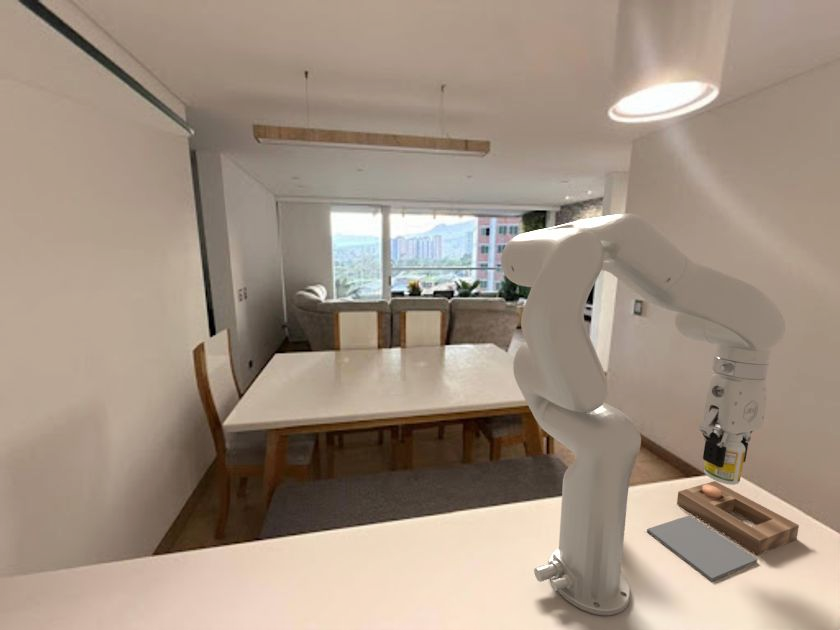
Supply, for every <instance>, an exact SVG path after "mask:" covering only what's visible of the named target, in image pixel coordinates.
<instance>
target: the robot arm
mask: <svg viewBox="0 0 840 630" xmlns="http://www.w3.org/2000/svg"><path fill="white" fill-rule="evenodd" d="M500 265H501V270H502V272H503V274H504V275H505V276H506V278H507V279H508V280H509V281H510V282H512V283H514V284H516V285H518V286H522V287H526V288H528V287H529V288H530V291H529V294H528V296H527V298H526V301H525V303H524V306H523V310H522V313H521V318H520V320H521V321H520V322H521V323H520V326H521V332H522V335H523V336H522V337H523V339H524V341H525V342H523V343H522V344H521V345H520V346H519V348H517V351H516V353H515V354H514V359H513V362H512V364H513V366H512V369H513V375H514V379H515V381H516V383H517V386H518V388H519V390H520V392H521V393H522V396H523V398H524V400H525V402H526V403H527V406H528V408H529V410H530V412H531V413H532V415H533V417H534V419H535V421H536V423H537V424H538V426H539V427H540V428H541V429H542V430H543V431H544V432H546V434H548V435H549V436H550V437H552V438H553V439H555V440H556V441H558V442H559V443H561V445H563V446H564V447H566V448H567V449H568V450H569V451H571V452H572V453H573V455H574V460H573V462H572V464H571V465H569V466H568V467H567V468H566V470H565V472H564V475H563V479H562V487H561V490H562V492H561V493H562V495H561V510H560V525H559V538H558V539H559V540H558V548H557V549H555V550H554V551H553V552H552V553H551V554H550V556H549V558H548V563H547V565H544V564H543V565H541V566H540V565H539V566H537V567H535V568H534V570H533V572H534V575H535V578H536V580H537V581H538V582H539V583H542V582H544V581H547V580H550V584H551V588H552V589H553V590H554V591H555V592H556V591H557V592H558V593H559V594H560V596H562V597H563V598H564V599H565V601H567V602H569V603H570V604H571V605H573V606H574V607H577V608H579V609H580V610H582V611H584V612H588V613H590V614H594V615H599V616H611V615H612V616H613V615H616V614H619V613H621V612H623V611H624V610H625V609H626V608H627V606H628V604H629V602H630V599H631V597H630V596H631V595H630V594H631V587H630V584H629V582H628V580H627V579H628V578H627V577H626V576H625V574H624V573H623V571H622V561H623V551H624V541H625V540H624V539H625V528H626V518H627V507H628V505H627V504H628V498H629V497H628V495H629V487H630V481H631V477H632V473H633V469H634V467H635V464H636V461H637V458H638V455H639V453H640V448H641V444H642V436H641V432H640V429H639V428H638V426H637V424H636V423H635V422H634V420H632V418H631V417H629V415H628V414H626V413H624V412H623V411H621V410H620V409H618V408H616V407H614V406H612V405H610V404H608V403H606V402H605V401H606V400H607V398H608V393H609V392H608V391H609V386H608V379H607V377H606V373H605V370H604V368H603V366H602V363H601V361H600V358H599V355H598V353H597V351H596V349H595V346H594V344H593V342H592V340H591V337H590V334H589V332H588V328H587V325H586V322H585V316H584V315H585V308H586V304H587V301H588V298H589V296H590V293H591V291H592V289H593V287H594V285H595V284H596V282H597V280H598V278H599V276H600V274H601V271H602V272H603V271H605V272H608V273H610V274H611V275H613V276H614V277H615V278H616V279H618V280H619V281H621V282H622V283H624V284H625V285H626V286H627V287H629V288H630V289H631V290H633V292H634V293H636V294H637V295H638V296H640V297H641V298H642V299H643V300H645V301H646V302H648V303H650V304H652V305H655V306H658V307H659V308H663V309H666V310H668V311H673V312H674V313H675V312H676V313H675V316H674V324H675V328H676V329H677V330H678V332H679V333H680V334H681V335H683V336H684V337H686V338H688V339H692V340H694V341H699V342H704V343H709V344H714V345H715V346H714V353H713V358H712V365H711V374H712V375H711V377H710V380H709V383H708V387H707V390H706V395H705V397H704V404H703V408H702V409H703V410H702V421H701V423H700V424H699V425H698V430H699V431H700V432H701V433H702V435H703V439H704V441H705V443H704V448H703V455H702V460H704V462H705V461H707V462H709V463H711V464H713V465H715V466H717V467H719V468H721V467H723V466H724V460H725V454H726V447H724V444H725V441H726V439H727V436H728V434H731V435H733V434H739V433H743V439H742V441H740V442H741V443H742V444H743V445H744V446H745V456H744V461H743V463H746V460H747V453H748V449H749V448H748V447H749V442H750V441H751V440H752V439H751V438H752V436H751V435H752V433H753V432H754V431H757V430H760V429H762V427H763V425H764V419H765V413H766V401H767V378H768V377H767V375H768V370H769V363H770V358H771V351H772V349H773V348H775V347H776V346H777V345H778V344H779V343H780V342H781V341H782V339H783V338H784V335H785V331H786V323H785V322H786V321H785V318H784V315H783V313H782V312H781V310H780V309H779V307H778V306H777V305H776V304H775V303H774V301H773V300H771V299H770V298H769V297H768V295H766V294H765V293H764V292H763V291H762V290H760V289H759V288H758V287H756V286H754V285H752V284H750V283H748V282H746V281H744V280H742V279H739V278H737V277H734V276H732V275H729V274H726V273H724V272H722V271H719V270H716V269H714V268H711V267H710V266H706V265H704V264H700V263H698V262H695V261H693V260H692V259H690V258H689V257H688V256H687V255H686V254H685V253H684V252H683V251H682V250H681V249H680V248H678V246H676V245H675V244H674V243H673V242H672V241H670V239H668V238H667V237H666V236H665V235H664V234H663V233H662V232H661V231H660V230H659V229H658V228H656V227H655V225H653V224H652V223H650V222H649V221H648V220H647V219H646V218H644V217H642V216H640V215H638V214H635V213H634V214H633V213H616V214H611V215H610V214H609V215H604V216H603V215H601V216H597V217H596V216H595V217H589V218H583V219H579V220H575V221H572V222H567V223H564V224H560V225H556V226H552V227H547V228H542V229H537V230H532V231H529V232H523V233H520V234H518V235H516V236H514V237H512V238H511V239H510V240H509V241H508V242H507V243H506V244H505V246H504V248H503V250H502V253H501V256H500ZM717 425H720V427H721V428H718V427H716V426H717ZM715 430H717V431H719V432H721V434H720V436H719V437H718V436H717V434H716V433H715V432H714V431H715Z"/></svg>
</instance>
